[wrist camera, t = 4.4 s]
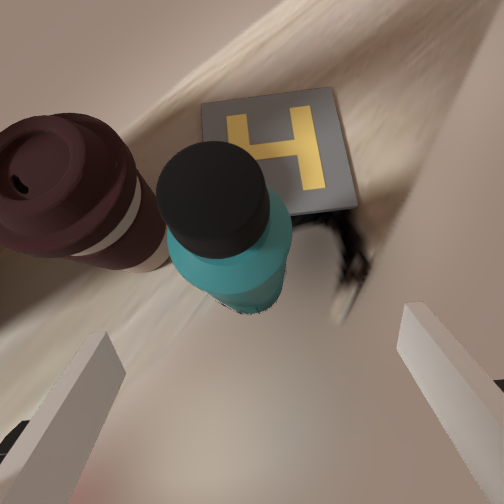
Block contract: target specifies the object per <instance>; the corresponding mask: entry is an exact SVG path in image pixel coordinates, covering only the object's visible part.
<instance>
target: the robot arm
mask: <svg viewBox="0 0 504 504" xmlns="http://www.w3.org/2000/svg"><path fill="white" fill-rule="evenodd" d="M397 351H398V353H399V354H400V356H401V358H402V359H403V361H404V362H405V364H406V366H407V367H408V369H409V371H410V372H411V374H412V376H413V377H414V379H415V381H416V382H417V384H418V386H419V387H420V389H421V391H422V392H423V394H424V396H425V397H426V399H427V401H428V402H429V404H430V406H431V407H432V409H433V410H434V412H435V414H436V415H437V417H438V419H439V420H440V422H441V424H442V425H443V427H444V429H445V430H446V432H447V434H448V435H449V437H450V438H451V440H452V442H453V444H454V445H455V447H456V449H457V450H458V452H459V454H460V455H461V457H462V459H463V460H464V462H465V464H466V465H467V467H468V468H469V470H470V472H471V473H472V475H473V477H474V478H475V480H476V482H477V483H478V485H479V487H480V488H481V490H482V492H483V493H484V495H485V497H486V498H487V500H488V502H489V503H490V504H504V380H492V379H491V378H490V377H489V376H488V375H487V373H486V372H485V371H484V370H483V369H482V368H481V367H480V366H479V365H478V363H477V362H476V361H475V360H474V359H473V358H472V356H471V355H470V354H469V353H468V352H467V351H466V350H465V349H464V347H463V346H462V345H461V344H460V343H459V342H458V341H457V339H456V338H455V337H454V336H453V335H452V334H451V333H450V332H449V331H448V329H447V328H446V327H445V326H444V325H443V324H442V322H441V321H440V320H439V319H438V318H437V317H436V316H435V315H434V313H433V312H432V311H431V310H430V309H429V308H428V307H427V305H426V304H425V303H424V302H423V301H421V302H410V303H405V304H404V310H403V315H402V321H401V326H400V332H399V338H398V343H397ZM125 375H126V372H125V370H124V368H123V366H122V364H121V361H120V359H119V357H118V355H117V353H116V351H115V349H114V347H113V344H112V342H111V340H110V338H109V336H108V334H107V332H99V333H90V334H89V335H88V337H87V338H86V340H85V341H84V343H83V344H82V346H81V347H80V349H79V350H78V352H77V353H76V354H75V356H74V357H73V359H72V360H71V362H70V363H69V365H68V366H67V368H66V369H65V371H64V372H63V373H62V375H61V376H60V378H59V379H58V381H57V382H56V384H55V385H54V387H53V388H52V390H51V391H50V392H49V394H48V395H47V397H46V398H45V400H44V401H43V403H42V404H41V406H40V407H39V409H38V410H37V411H36V413H35V414H34V416H33V417H32V419H31V420H27V421H22V422H20V423H19V424H18V425H17V426H16V427H15V428H14V429H13V430H12V431H11V432H10V433H9V434H8V435H7V436H6V437H5V438H4V439H3V441H2V442H1V444H0V504H68V502H69V500H70V498H71V496H72V493H73V491H74V489H75V487H76V484H77V482H78V480H79V478H80V476H81V473H82V471H83V469H84V467H85V464H86V462H87V460H88V458H89V455H90V453H91V451H92V449H93V447H94V444H95V442H96V440H97V438H98V435H99V433H100V431H101V429H102V426H103V424H104V422H105V420H106V418H107V415H108V413H109V411H110V409H111V406H112V404H113V402H114V400H115V397H116V395H117V393H118V391H119V389H120V386H121V384H122V382H123V380H124V377H125Z"/></svg>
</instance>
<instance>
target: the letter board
mask: <svg viewBox="0 0 504 504" xmlns="http://www.w3.org/2000/svg"><path fill="white" fill-rule="evenodd" d="M201 112H202V130H203V142H206V141H223V142H228V143H231V144H234V145H237V146H239V147H241V148H243V149H244V150H246V151H247V152H248V153H249V154H250V155H251V156H252V157H253V158H254V159H255V160H256V161H257V163H258V164H259V166H260V168H261V170H262V172H263V174H264V178H265V183H266V185H268V186H269V187H270V188H272V189H273V190H274V191H275V192H276V193H277V194H278V195H279V196H280V198H281V199H282V200H283V202H284V204H285V205H286V207H287V209H288V212H289V214H290V216H294V215H302V214H311V213H320V212H328V211H337V210H345V209H354V208H357V207H358V202H357V198H356V194H355V189H354V185H353V180H352V176H351V172H350V167H349V163H348V158H347V154H346V150H345V145H344V141H343V136H342V132H341V128H340V123H339V119H338V114H337V110H336V106H335V101H334V97H333V92H332V88H331V87H323V88H316V89H308V90H301V91H293V92H286V93H278V94H271V95H263V96H256V97H248V98H241V99H233V100H226V101H218V102H211V103H203V104H201Z"/></svg>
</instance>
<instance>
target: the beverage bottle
mask: <svg viewBox="0 0 504 504" xmlns="http://www.w3.org/2000/svg"><path fill="white" fill-rule="evenodd" d="M156 200H157V206H158V210H159V212H160V215H161V217H162V218H163V220H164V222H165V223H166V224H167V226H168V229H167V245H168V250H169V254H170V257H171V260H172V262H173V264H174V266H175V267H176V269H177V270H178V272H179V273H180V274H181V275H182V276H183V277H184V278H185V279H186V280H187V281H188V282H190V283H191V284H192V285H193V286H195V287H197V288H199V289H201V290H203V291H206V292H207V293H209V294H210V295H212V296H213V297H214V298H216V299H217V300H219V301H221V302H222V303H224V304H226V305H227V306H229V307H231V308H233V309H234V310H236V311H238V313H240V314H242V313H246V314H251V315H252V314H254V313H259V312H262V311H264V310H266V309H268V308H269V307H271V306H272V305H273V304H274V303H275V302H276V300H277V299H278V297H279V295H280V293H281V290H282V285H283V279H284V272H285V266H286V259H287V255H288V253H289V250H290V246H291V241H292V223H291V218H290V214H289V212H288V209H287V207H286V205H285V204H284V202H283V200H282V199H281V198H280V196H279V195H278V194H277V193H276V192H275V191H274V190H273V189H272V188H270V187H269V186H268V185H266V183H265V178H264V174H263V172H262V170H261V168H260V166H259V164H258V163H257V161H256V160H255V159H254V158H253V157H252V156H251V155H250V154H249V153H248V152H247V151H246V150H244V149H243V148H241V147H239V146H237V145H234V144H231V143H228V142H223V141H206V142H200V143H197V144H194V145H191V146H189V147H187V148H185V149H183V150H181V151H180V152H178V153H177V154H176V155H175V156H174V157H172V159H171V160H170V161H169V162H168V163H167V164H166V166H165V167H164V169H163V170H162V172H161V174H160V177H159V180H158V183H157V188H156ZM215 301H216V300H215ZM222 305H223V304H222ZM223 306H225V305H223ZM259 314H260V313H259Z"/></svg>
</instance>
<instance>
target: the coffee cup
mask: <svg viewBox="0 0 504 504" xmlns="http://www.w3.org/2000/svg"><path fill="white" fill-rule="evenodd" d="M167 229H168V226H167V224H166V223H165V222H164V220H163V218H162V217H161V215H160V212H159V210H158V206H157V200H156V196H155V194H154V193H153V192H152V190H151V189H150V187H149V186H148V184H147V183H146V182H145V180H144V179H143V177H142V176H141V174H140V173H139V172H138V170H137V169H136V165H135V162H134V159H133V156H132V154H131V152H130V150H129V148H128V147H127V146H126V144H125V143H124V142H123V141H122V139H121V138H120V137H119V136H118V134H117V133H116V132H115V131H114V130H113V129H112V128H111V127H110V126H109V125H107V124H106V123H104V122H103V121H101V120H99V119H97V118H94V117H91V116H89V115H84V114H77V113H61V114H54V115H50V116H46V115H43V116H34V117H30V118H26V119H23V120H21V121H19V122H17V123H14V124H12V125H11V126H9V127H8V128H6V129H5V130H3V131H2V132H0V244H2V245H4V246H5V247H7V248H10V249H12V250H15V251H18V252H21V253H25V254H28V255H31V256H35V257H41V258H60V257H62V258H66V259H70V260H74V261H78V262H82V263H86V264H90V265H94V266H98V267H102V268H106V269H112V270H123V271H127V272H131V273H145V272H149V271H152V270H154V269H156V268H158V267H159V266H161V265H162V264H163V263H164V262H165V261H166V260H167V258H168V257H169V256H170V254H169V250H168V245H167Z"/></svg>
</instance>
